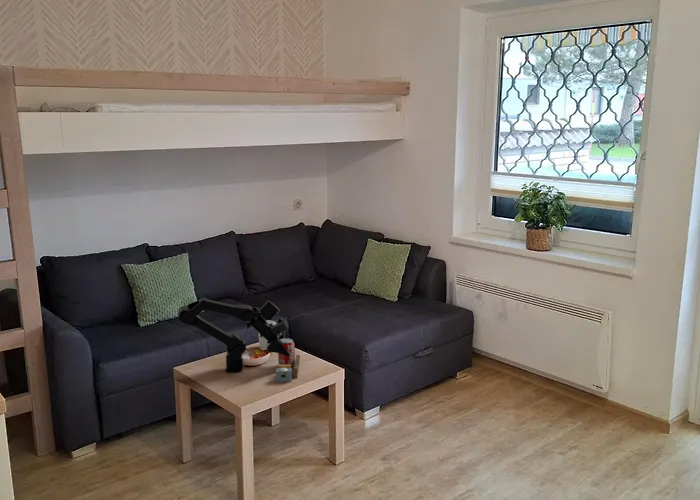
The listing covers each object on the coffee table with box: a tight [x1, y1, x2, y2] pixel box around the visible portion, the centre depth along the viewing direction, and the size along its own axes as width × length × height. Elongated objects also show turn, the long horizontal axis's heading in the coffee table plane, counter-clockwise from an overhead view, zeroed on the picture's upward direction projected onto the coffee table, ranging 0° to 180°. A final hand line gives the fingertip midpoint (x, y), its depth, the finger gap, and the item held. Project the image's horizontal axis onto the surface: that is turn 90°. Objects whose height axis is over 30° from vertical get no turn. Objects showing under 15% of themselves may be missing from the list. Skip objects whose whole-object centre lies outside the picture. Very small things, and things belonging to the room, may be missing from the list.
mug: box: [257, 319, 277, 349], centre depth 300 cm, size 8×12×12 cm
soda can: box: [277, 337, 296, 368], centre depth 280 cm, size 7×7×12 cm
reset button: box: [278, 364, 291, 374], centre depth 270 cm, size 5×4×3 cm
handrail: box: [293, 354, 301, 379], centre depth 276 cm, size 2×15×4 cm, turn 1°
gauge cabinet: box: [275, 367, 293, 383], centre depth 267 cm, size 6×4×5 cm, turn 91°
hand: (289, 352), depth 280 cm, fingers closed on soda can, 7 cm apart
